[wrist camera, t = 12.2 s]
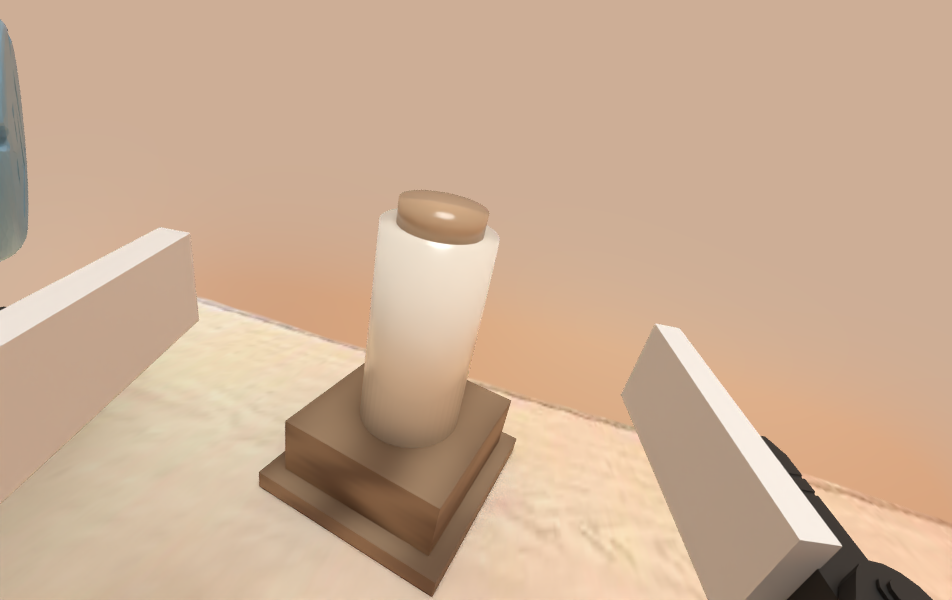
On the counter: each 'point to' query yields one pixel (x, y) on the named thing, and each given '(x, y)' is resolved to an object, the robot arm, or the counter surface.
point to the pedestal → (391, 479)
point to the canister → (425, 315)
